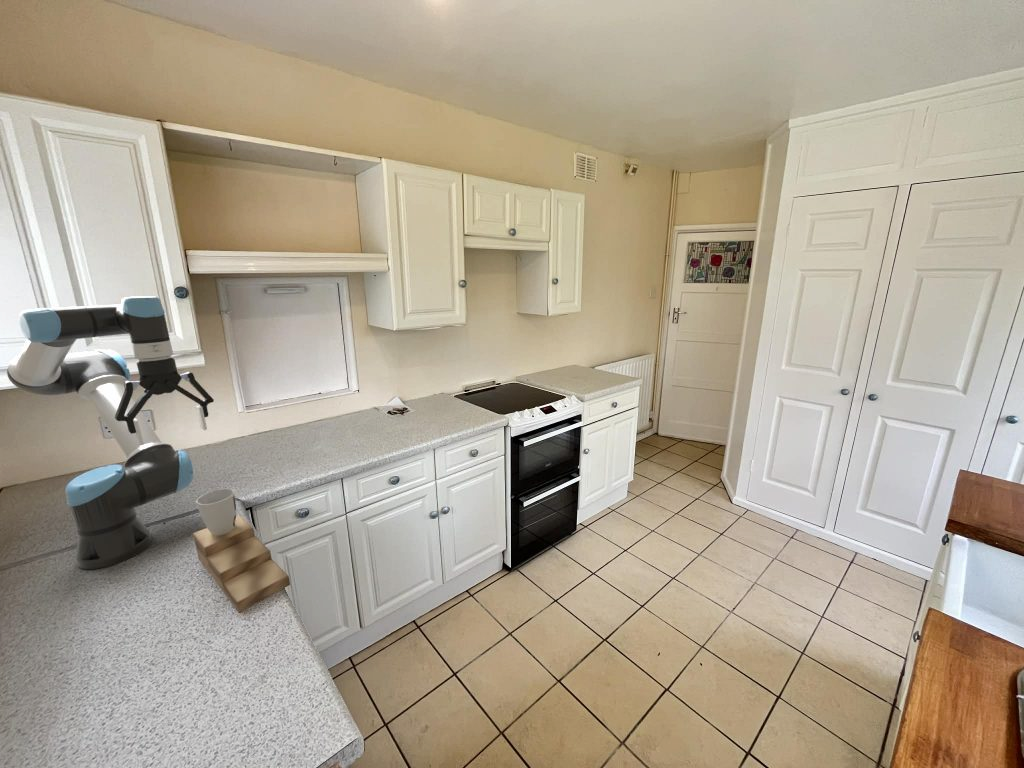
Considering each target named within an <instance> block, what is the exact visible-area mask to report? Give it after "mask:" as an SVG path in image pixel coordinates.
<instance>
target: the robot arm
mask: <svg viewBox="0 0 1024 768" xmlns="http://www.w3.org/2000/svg"><path fill="white" fill-rule="evenodd" d="M120 302H121V303H115V304H114V303H113V304H108V305H107V304H106V305H105V304H104V305H91V306H67V307H49V308H47V307H40V308H34V309H25V310H22V311H21V312H20V313H19V315H18V318H19V326H20V329H21V332H22V334H23V336H24V337H25V338H26V341H25V343H24V346H23V347H22V350H21V351H20V354H19V355H17V356H15V357H14V358H13V359H12V360H10V362H9V364H8V366H7V369H6V374H7V377H8V380H9V382H10V383H12V384H13V386H15V387H17V388H18V389H20V390H22V391H24V392H27V393H30V394H33V395H41V396H59V395H66V394H72V393H77V395H78V396H79V397H80V398H81V399H83V400H85V401H90V402H91V404H92V405H93V407H94V408H95V410H96V411H97V413H98V415H99V416H100V417H101V419H102V421H103V423H104V424H105V426H106V427H107V429H108V430H109V432H110V433H111V434H112V436H113V438H114V440H115V442H116V443H117V445H119V448H120V449H121V450H122V452H123V453H124V455H125V456H126V458H127V459H126V460H125V462H124V467H123V465H121V464H109V465H106V466H100V467H96V468H94V469H91V470H88V471H86V472H84V473H82V474H80V475H78V476H76V477H74V478H73V479H72V480H71V481H70V482H68V483H67V484H66V486H65V490H64V491H65V498H66V504H67V506H68V507H69V511H70V513H71V517H72V518H73V522H74V525H75V526H74V527H75V529H76V532H77V535H78V538H77V539H78V540H77V543H76V544H77V545H76V552H75V561H76V564H77V567H78V568H80V569H84V570H95V569H103V568H106V567H110V566H113V565H116V564H120V563H122V562H124V561H127V560H129V559H130V558H133V557H135V556H137V555H139V554H140V553H141V552H143V551H144V550H145V549H146V548H148V547H149V546H150V544H151V543H152V540H153V538H152V535H151V534H152V533H151V531H150V530H149V528H147V526H146V525H145V524H144V523H143V522H142V521H141V520H140V519H139V518H138V515H137V512H136V508H139V507H140V506H144V505H146V504H149V503H151V502H153V501H156V500H159V499H161V498H164V497H165V498H166V497H167V496H170V495H173V494H176V493H178V492H179V491H181V490H184V489H186V488H188V487H190V486H191V485H192V483H193V480H194V467H193V463H192V460H191V457H190V455H189V454H188V453H187V451H185V450H184V449H178V450H175V449H174V447H173V446H172V445H171V444H170V443H165V442H162V441H161V439H160V438H159V437H158V435H157V433H156V431H155V430H154V429H153V427H152V426H151V424H150V423H149V421H148V420H147V418H146V417H145V415H144V413H142V411H141V410H142V409H143V407H144V406H145V404H146V403H147V402H148V401H149V399H150V398H152V397H153V395H155V396H160V395H163V394H172V393H173V392H175V391H177V392H178V393H180V394H182V395H184V396H185V397H186V398H189V399H190V400H192V401H193V402H195V403H196V404H198V405H196V406H195V407H196V411H197V416H198V420H199V425H200V429H201V430H203V431H206V430H207V431H208V426H207V423H206V418H208V417H209V411H208V405H209V404H212V403H214V400H215V399H214V398H213V397H212V396H211V395H210V394H209V393H208V392H207V391H206V390H205V388H204V387H203V386H202V385H201V384H200V383H199V382H198V381H197V380H196V378H195V375H194V372H190V371H186V372H185V373H179V372H178V368H177V364H176V359H175V357H173V355H174V351H173V348H172V342H171V338H170V334H169V330H168V325H167V319H166V315H165V309H164V307H163V303H162V300H161V299H160V298H159V297H158V296H153V295H152V296H129V297H128V296H127V297H123V298H121V301H120ZM118 335H119V336H120V335H129V337H130V338H129V339H130V342H131V347H132V350H133V355H134V358H135V359H137V361H136V366H137V370H138V374H139V380H134V381H133V380H132V381H130V379H131V372H130V369H129V367H128V366H127V365H128V364H127V362H126V361H125V358H123V356H121V355H120V354H119V353H118V352H117V351H115V350H112V349H107V350H105V349H94V350H95V351H91V350H89V352H88V351H79V352H71V353H69V352H70V351H71V349H72V347H73V345H74V343H76V341H77V340H80V339H88V338H89V339H91V338H98V337H107V336H108V337H109V336H110V337H111V336H118ZM182 380H184V381H186V382H189V384H190V385H191V386H192V387H193V388H194V389H195V390H196V391H197V392H198V393H199V395H201V396H202V397H203V398H204V399H203V400H202V399H200V398H199V397H197V396H196V395H194V394H193V393H191V392H190V391H188V390H187V389H185V388H183V387H182V386H180V385H179V384H180V382H181V381H182ZM139 386H140V387H142V388H143V389H144V390H143V391H142V393H141V394H140V396H139V398H138V399H137V400H136V401H135V400H134V399H133V398H132V396H133V393H134V391H135V390H137V388H138V387H139Z"/></svg>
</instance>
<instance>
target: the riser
mask: <svg viewBox="0 0 1024 768" xmlns="http://www.w3.org/2000/svg"><path fill="white" fill-rule="evenodd" d="M255 535H256V534H255V531H254V527H253V526H252V525H251V523H249V522H248V521H247V520H245V518H244V517H242V516H241V514H240V515H239V514H238V515H236V521H235V527H234V529H233V530H232V531H230V532H229V533H226V534H224V535H219V536H214V535H212V534H211V532H210V531H209V530H208V528H207V527H206V528H203V529H201V530H198V531H195V532H192V536H193V539H194V543H195V548H196V553H197V556H198V559H199V560H200V562H201V563H202V565H203V566H204V567H205V568H206V570H207V571H208V573H209V574H210V575H211V577H212V578H213V579H214V581H215V582H216V584H217V585H218V587H220V589H221V590H222V592H223V593H224V594H225V595H226V597H227V598H228V599H229V601H230V602H231V604H232V605H233V606H234V608H235V609H236V610H237V611H238V613H241V612H243V611H245V610H246V609H248V608H251V607H253V606H254V605H255V604H257V603H259V602H261V601H263V600H265V599H267V598H269V597H270V596H273V595H274V594H276V593H278V592H279V591H281V590H283V589H285V588H287V587H289V586H291V581H290V576H289V575H288V573H286V572H285V571H284V570H283V569H282V568H281V566H279V564H277V562H275V560H273V559H272V554H271V550H270V549H269V548H268V547H267V546H266V545H265V544H264V543H263V542H262V541H261V540H260V539H259V538H258V537H257V536H255Z"/></svg>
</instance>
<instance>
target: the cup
mask: <svg viewBox="0 0 1024 768" xmlns="http://www.w3.org/2000/svg"><path fill="white" fill-rule="evenodd" d="M195 501H196V502H195V503H196V506H197V509H198V512H199V514H200V517H201V519H202V521H203V524H205V527H206V528H208V530H209V531H210V532H211V534H212V535H214V536H219V535H224V534H226V533H229V532H230V531H232V530H233V529H234V527H235V521H236V516H237V504H236V495H235V490H234V489H232V488H219V489H215V490H212V491H208V492H206V493H204V494H201V495H200V496H199V497H198V498H197V499H196V500H195Z"/></svg>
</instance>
